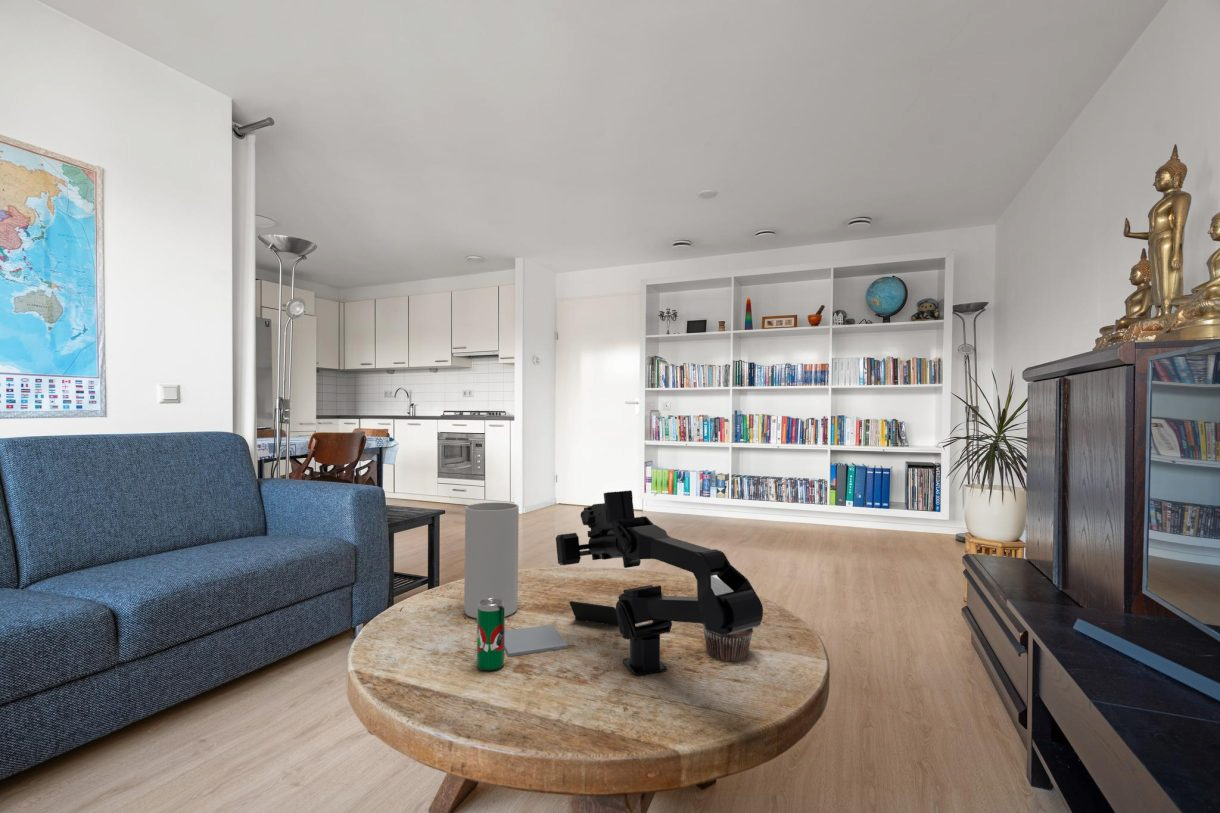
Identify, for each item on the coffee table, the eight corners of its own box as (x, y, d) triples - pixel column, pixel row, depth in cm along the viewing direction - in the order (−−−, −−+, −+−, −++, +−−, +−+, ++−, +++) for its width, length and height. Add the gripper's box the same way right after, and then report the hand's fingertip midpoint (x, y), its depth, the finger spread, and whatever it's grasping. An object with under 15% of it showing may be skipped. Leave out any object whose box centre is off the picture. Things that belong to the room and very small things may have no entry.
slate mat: (568, 648, 114) (568, 645, 114) (508, 656, 110) (508, 653, 110) (552, 627, 125) (552, 624, 125) (497, 634, 121) (497, 631, 121)
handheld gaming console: (628, 608, 134) (619, 582, 128) (627, 636, 128) (617, 610, 122) (582, 611, 136) (570, 586, 130) (578, 639, 130) (566, 613, 125)
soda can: (506, 660, 108) (506, 597, 108) (501, 672, 103) (502, 606, 103) (479, 660, 108) (480, 597, 108) (474, 672, 103) (474, 606, 103)
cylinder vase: (511, 600, 143) (512, 501, 144) (522, 616, 132) (523, 509, 132) (461, 605, 139) (462, 503, 139) (467, 623, 127) (468, 511, 128)
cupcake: (740, 642, 118) (740, 593, 118) (760, 662, 108) (760, 609, 108) (696, 644, 116) (696, 595, 117) (712, 665, 107) (712, 611, 107)
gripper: (648, 500, 122) (610, 507, 134) (571, 507, 112) (538, 514, 125) (654, 553, 119) (616, 555, 132) (577, 565, 109) (543, 566, 122)
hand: (579, 546), depth 128 cm, fingers open, 9 cm apart
